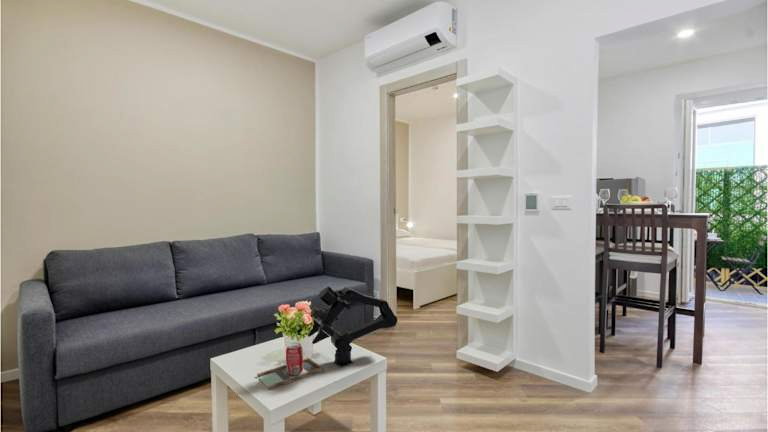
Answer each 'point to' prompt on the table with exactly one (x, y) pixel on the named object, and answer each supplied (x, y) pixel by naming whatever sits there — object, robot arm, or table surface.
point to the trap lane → (293, 377)
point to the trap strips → (285, 377)
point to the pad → (270, 379)
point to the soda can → (294, 358)
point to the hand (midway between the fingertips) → (310, 339)
